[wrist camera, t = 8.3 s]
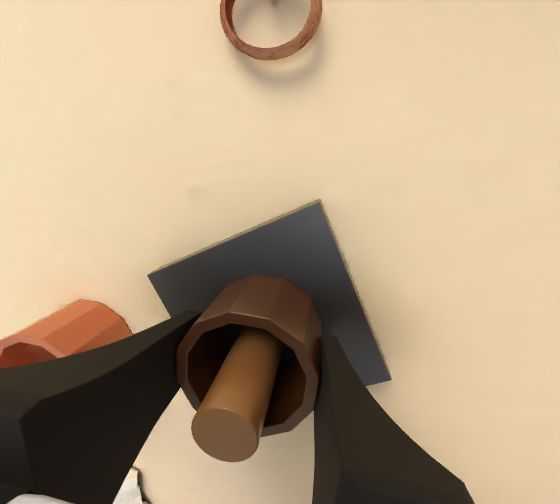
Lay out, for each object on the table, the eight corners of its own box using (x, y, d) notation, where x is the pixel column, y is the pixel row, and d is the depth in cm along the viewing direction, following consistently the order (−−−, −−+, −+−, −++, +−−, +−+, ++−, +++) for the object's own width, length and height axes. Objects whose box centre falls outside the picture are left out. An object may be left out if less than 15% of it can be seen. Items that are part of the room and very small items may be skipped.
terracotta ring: (150, 363, 17) (105, 413, 13) (88, 384, 18) (32, 433, 15) (104, 288, 16) (43, 321, 12) (42, 315, 17) (-29, 352, 14)
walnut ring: (337, 356, 13) (340, 421, 10) (242, 382, 15) (215, 447, 11) (293, 258, 12) (280, 293, 9) (195, 295, 14) (150, 338, 10)
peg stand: (386, 363, 14) (438, 533, 8) (234, 401, 17) (172, 556, 10) (320, 198, 12) (310, 232, 6) (160, 266, 15) (24, 346, 8)
